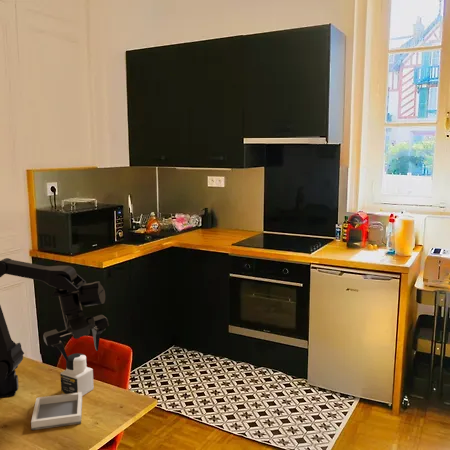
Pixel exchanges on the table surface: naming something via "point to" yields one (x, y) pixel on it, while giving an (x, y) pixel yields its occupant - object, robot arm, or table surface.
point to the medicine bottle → (76, 375)
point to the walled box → (57, 411)
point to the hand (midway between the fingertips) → (82, 355)
